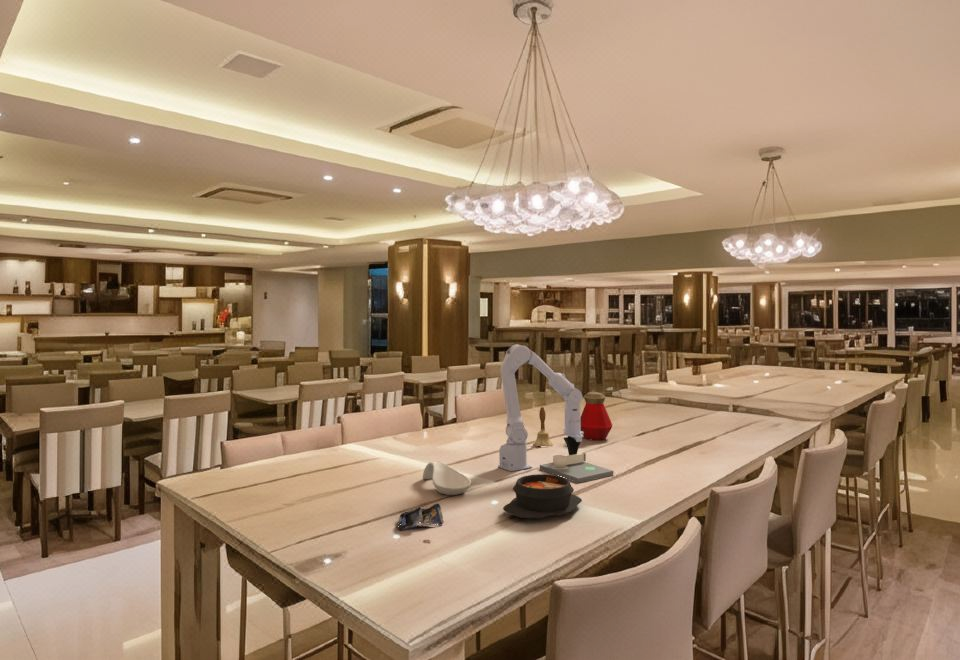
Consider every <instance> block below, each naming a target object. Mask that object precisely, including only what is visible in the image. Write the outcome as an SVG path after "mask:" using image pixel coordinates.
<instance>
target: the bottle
mask: <svg viewBox="0 0 960 660" xmlns="http://www.w3.org/2000/svg"><path fill="white" fill-rule="evenodd" d="M583 399H584V402H585V404H584V408H583V410H582V412H581V414H580V419H581V420H580V423H581V431H582V432H584V434H582V437H583V438H584V439H585V438H587V439H586V440H589V439H592V440H591V441H604V439H605V440H606V439H607V437H608V435H609V433H610V432H611V431H612V428H613V423H612V420H611V417H610V416H609V415H610V414H609V413H608V411H607V409H606V406H605V404H604V402H605V399H606V396H605V394H604V393H602V392H597V391H595V392H594V391H593V392H592V391H591V392H587V393H586V394H584V395H583Z"/></svg>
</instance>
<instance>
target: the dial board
mask: <svg viewBox="0 0 960 660" xmlns="http://www.w3.org/2000/svg"><path fill="white" fill-rule="evenodd" d="M540 469H542V470H541V471H543V470H544V471H543V472H546V471H547V473H549V472H550V473H549V474H552V473H553V474H552V475H554V474H556V475H555V476H557V475H559V476H562V477H565V478H567V480H569V479H570V480H569V481H571V480H573V481H572V482H574V481H575V483H577V482H578V483H577V484H579V482H580V483H584V482H583V481H585V482H588V480H589V481H594V480H597V479H602V478H607V477H612V476H614V470H613V469H609V468H606V467H603V466H599V465H596V464H593V463H589V462H586V461H584V462H579V463H574V464H569V465H566V466H565V467H554V466H553V462H550V463H549V462H548V463H545V464H539V470H540ZM593 479H594V480H593Z"/></svg>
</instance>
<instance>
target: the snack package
mask: <svg viewBox="0 0 960 660" xmlns="http://www.w3.org/2000/svg"><path fill="white" fill-rule="evenodd" d="M423 507H424V505H421V506H420V507H416V508H415V509H411V510H409V511H405V512H403V513H400V515H399V518H398V522H397V524H396V529H397V531H398V530H401V531H402V530H409V528H410V529H413V528H417V526H418V527H427V528H428V527H429V528H430V526H428V525H431V524H436V525H435V526H440V524H442V525H443V524H444V517H443V512H442V509H441V505H440V503H435V504H432V506H430V507H428V506H426V508H423ZM419 522H421V523H429V524H428V525H426V524H417V523H419ZM400 524H401V525H400ZM437 524H438V525H437ZM398 526H399V527H398Z"/></svg>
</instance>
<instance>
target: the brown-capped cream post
mask: <svg viewBox="0 0 960 660" xmlns="http://www.w3.org/2000/svg"><path fill="white" fill-rule="evenodd" d="M586 454H587V453H586V452H581V453H577V454H574V455H569V454H568V455H562V454H556V455H553V456H552V463H553V466H554V467H565V466H566V465H569V464H574V463H579V462H586V458H587V455H586Z"/></svg>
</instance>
